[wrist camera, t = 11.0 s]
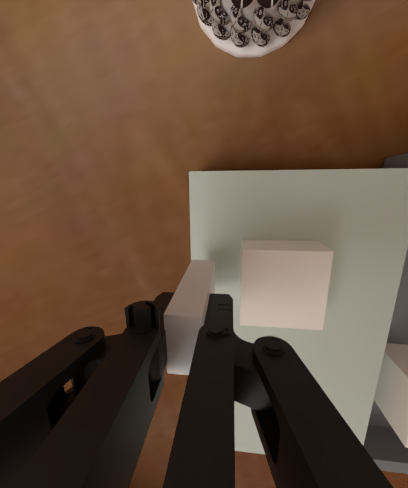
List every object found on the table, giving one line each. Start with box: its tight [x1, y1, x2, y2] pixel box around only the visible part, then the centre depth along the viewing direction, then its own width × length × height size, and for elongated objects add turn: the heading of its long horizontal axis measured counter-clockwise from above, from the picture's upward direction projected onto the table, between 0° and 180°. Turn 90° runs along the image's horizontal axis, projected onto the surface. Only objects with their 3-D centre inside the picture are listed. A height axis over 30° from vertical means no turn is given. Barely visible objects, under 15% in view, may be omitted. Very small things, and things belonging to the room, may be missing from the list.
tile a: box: [374, 343, 408, 448], centre depth 18 cm, size 5×5×2 cm
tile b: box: [239, 240, 334, 330], centre depth 15 cm, size 5×5×2 cm
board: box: [189, 168, 408, 454], centre depth 19 cm, size 24×14×4 cm, turn 1°
